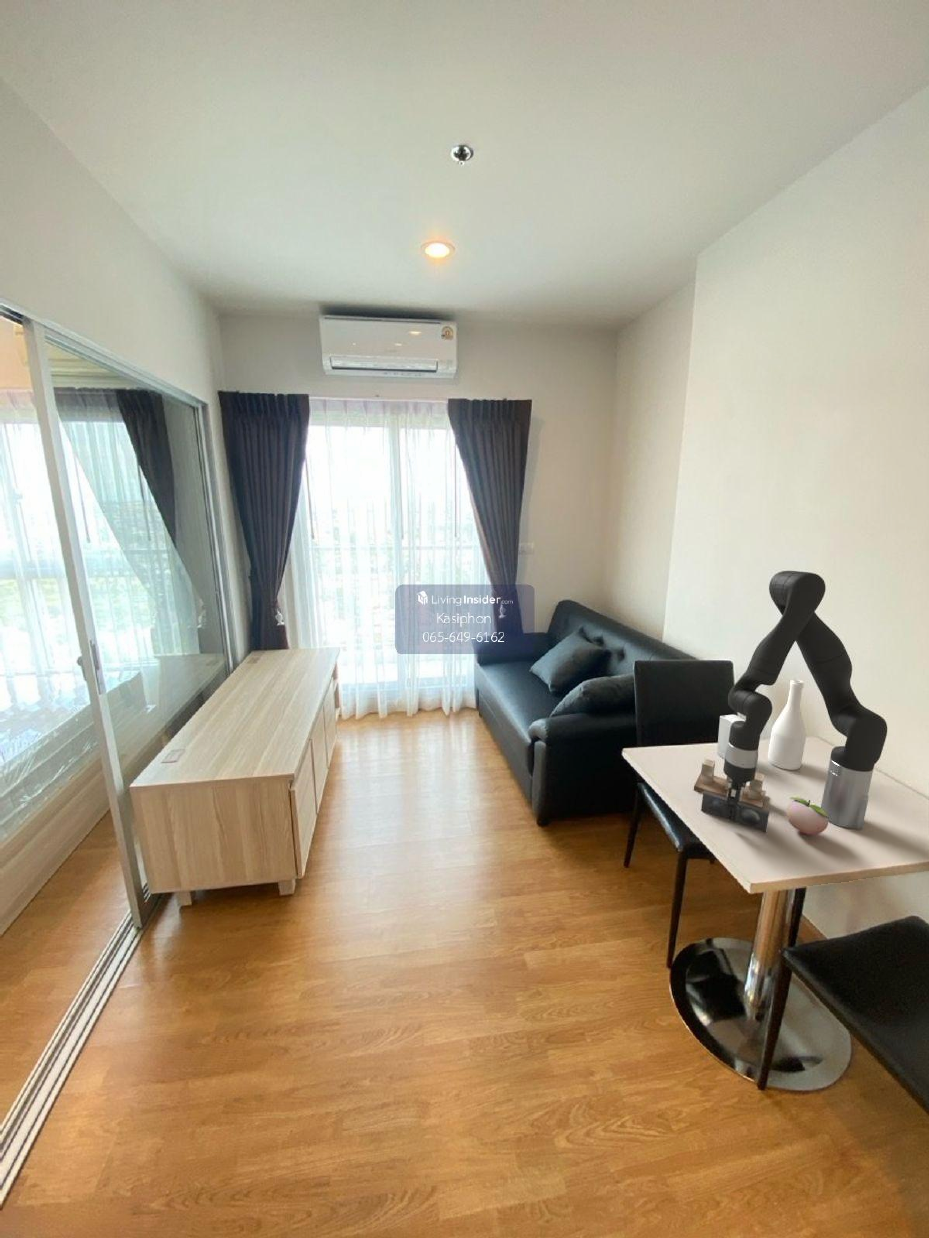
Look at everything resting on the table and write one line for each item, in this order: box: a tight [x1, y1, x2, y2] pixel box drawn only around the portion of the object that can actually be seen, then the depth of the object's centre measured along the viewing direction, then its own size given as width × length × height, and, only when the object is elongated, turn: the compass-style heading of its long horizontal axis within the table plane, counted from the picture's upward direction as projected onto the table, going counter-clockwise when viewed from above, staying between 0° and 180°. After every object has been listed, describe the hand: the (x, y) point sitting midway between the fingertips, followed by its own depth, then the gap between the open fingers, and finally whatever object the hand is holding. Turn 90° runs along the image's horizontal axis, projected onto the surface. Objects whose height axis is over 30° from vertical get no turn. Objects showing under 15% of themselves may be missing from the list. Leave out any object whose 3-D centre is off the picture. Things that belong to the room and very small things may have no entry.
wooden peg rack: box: [693, 758, 767, 809], centre depth 144 cm, size 18×10×8 cm, turn 53°
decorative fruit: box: [785, 796, 829, 836], centre depth 125 cm, size 9×8×10 cm
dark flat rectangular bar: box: [700, 791, 770, 834], centre depth 132 cm, size 16×2×6 cm, turn 53°
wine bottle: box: [767, 678, 807, 771], centre depth 157 cm, size 10×10×30 cm
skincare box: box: [716, 714, 746, 760], centre depth 163 cm, size 8×6×15 cm
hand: (733, 811), depth 132 cm, fingers open, 8 cm apart
